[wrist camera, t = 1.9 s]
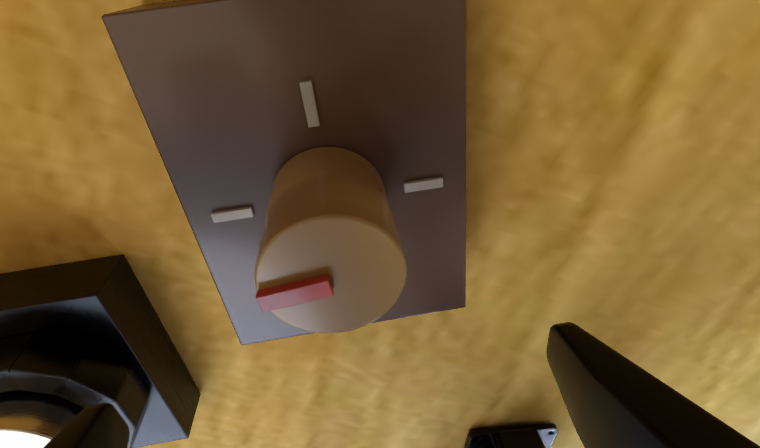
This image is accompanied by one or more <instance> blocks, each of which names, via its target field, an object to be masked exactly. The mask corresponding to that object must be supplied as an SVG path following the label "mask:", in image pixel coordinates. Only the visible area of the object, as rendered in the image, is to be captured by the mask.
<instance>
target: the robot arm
mask: <svg viewBox="0 0 760 448" xmlns="http://www.w3.org/2000/svg"><path fill="white" fill-rule="evenodd" d="M547 359H548V362H549V365H550V367H551V370H552V372H553V375H554V377H555V380H556V382H557V385H558V387H559V389H560V392H561V394H562V397H563V399H564V402H565V404H566V407H567V409H568V412H569V414H570V417H571V419H572V421H573V424H574V426H575V428H576V431H577V433H578V435H579V437H580V439H581V441H582V443H583V445H584V447H585V448H760V446H758V445H757V444H755V443H754V442H752V441H751V440H749V439H748V438H746V437H745V436H743V435H742V434H740V433H739V432H737V431H736V430H734V429H733V428H731V427H730V426H728V425H727V424H725V423H724V422H722V421H721V420H719V419H718V418H716V417H715V416H713V415H712V414H710V413H709V412H707V411H705V410H704V409H702V408H701V407H699V406H698V405H696V404H695V403H693V402H692V401H690V400H689V399H687V398H686V397H684V396H683V395H681V394H680V393H678V392H677V391H675V390H674V389H672V388H671V387H669V386H668V385H666V384H665V383H663V382H662V381H660V380H659V379H657V378H656V377H654V376H653V375H651V374H650V373H648V372H647V371H645V370H644V369H642V368H641V367H639V366H638V365H636V364H635V363H633V362H631V361H630V360H628V359H627V358H625V357H624V356H622V355H621V354H619V353H618V352H616V351H615V350H613V349H612V348H610V347H609V346H607V345H606V344H604V343H603V342H601V341H600V340H598V339H597V338H595V337H594V336H592V335H591V334H589V333H588V332H586V331H585V330H583V329H582V328H580V327H579V326H577V325H576V324H574V323H571V322H566V323H560V324H555V325H552V327H551V328H550V332H549V338H548V345H547ZM557 433H558V429H557V427H556V425H555V424H553V423H548V424H536V425H524V426H512V427H500V428H488V429H476V430H473V431H471V432H470V433H469V435H468V438H467V441H466V445H465V448H550V447H551V445H552V443H553V441H554V439H555V437H556V435H557ZM129 435H130V432H129V427H128V424H127V423H126V422H125V420H124V419H123V418H122V416H121V415H120V414H119V412H118V411H117V410H116V408H115V407H114V406H113V405H112V404H110V403H101V404H95V405H90V406H87V407H85V408H84V409H83V410H82V411H80V412H79V413H78V414H77V415H76V416H75V417H74V418H73V419H72V420H71V421H70V422H69V423H68V424H67V425H66V426H65V427H64V428H63V429H62V430H61V431H60V432H59V433H58V434H57V435H56V436H55V437H54V438H53V439H52V440H50V441H49V442H48V443H47V444H46V445H45V446H44V447H43V448H127V447H128V442H129Z"/></svg>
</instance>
